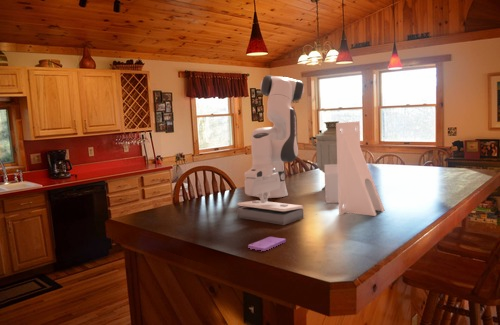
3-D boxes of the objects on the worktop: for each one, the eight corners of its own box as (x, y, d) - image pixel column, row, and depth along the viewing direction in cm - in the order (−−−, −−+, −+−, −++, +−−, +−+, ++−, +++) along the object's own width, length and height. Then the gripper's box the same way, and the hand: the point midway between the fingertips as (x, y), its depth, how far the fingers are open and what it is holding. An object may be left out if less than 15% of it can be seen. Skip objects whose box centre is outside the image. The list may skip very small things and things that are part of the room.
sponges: (248, 250, 136) (247, 244, 135) (270, 240, 145) (270, 235, 145) (264, 253, 131) (264, 248, 131) (286, 243, 141) (286, 238, 141)
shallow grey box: (237, 217, 181) (237, 208, 180) (258, 211, 191) (257, 202, 191) (284, 225, 163) (283, 215, 163) (303, 217, 174) (303, 208, 173)
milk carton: (340, 203, 199) (339, 165, 197) (325, 203, 201) (324, 165, 199) (339, 200, 206) (338, 163, 204) (325, 200, 208) (324, 163, 206)
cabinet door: (237, 205, 180) (237, 201, 180) (257, 202, 191) (257, 198, 191) (283, 211, 163) (283, 207, 163) (303, 208, 173) (303, 204, 173)
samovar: (372, 188, 236) (370, 119, 232) (341, 194, 221) (338, 121, 217) (335, 183, 260) (332, 121, 256) (304, 188, 246) (302, 123, 242)
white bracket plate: (369, 218, 167) (367, 121, 163) (338, 214, 177) (335, 123, 173) (389, 208, 182) (387, 120, 178) (359, 205, 192) (357, 121, 187)
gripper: (272, 167, 183) (273, 197, 184) (241, 173, 168) (243, 206, 169) (283, 168, 179) (284, 198, 180) (252, 174, 164) (254, 207, 165)
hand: (264, 202), depth 175 cm, fingers closed
